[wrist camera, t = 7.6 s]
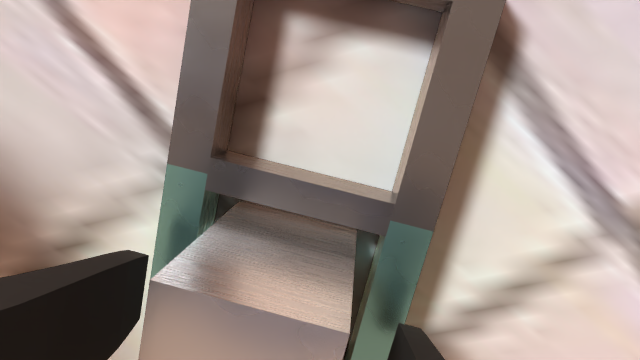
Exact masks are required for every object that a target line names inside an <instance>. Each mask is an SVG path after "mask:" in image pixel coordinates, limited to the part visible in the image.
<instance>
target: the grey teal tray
mask: <svg viewBox="0 0 640 360" xmlns="http://www.w3.org/2000/svg"><path fill="white" fill-rule="evenodd" d="M390 1H395V2H399V3H404V4H408V5H413V6H417V7H421V8H426V9H430V10H435V11H439V12H442V16H441V19H440V23H439V27H438V30H437V34H436V37H435V41H434V44H433V48H432V51H431V55H430V58H429V62H428V66H427V69H426V73H425V76H424V80H423V83H422V87H421V90H420V94H419V98H418V101H417V105H416V108H415V112H414V115H413V119H412V122H411V126H410V130H409V133H408V137H407V140H406V144H405V147H404V151H403V154H402V158H401V162H400V165H399V169H398V172H397V176H396V179H395V183H394V186H393V190H392V192H391V191H387V190H383V189H379V188H375V187H371V186H367V185H363V184H359V183H355V182H351V181H347V180H343V179H339V178H335V177H331V176H327V175H323V174H319V173H315V172H311V171H307V170H303V169H299V168H295V167H291V166H287V165H283V164H280V163H276V162H272V161H268V160H264V159H260V158H256V157H252V156H248V155H244V154H240V153H236V152H232V151H228V150H227V148H228V143H229V137H230V132H231V126H232V120H233V115H234V109H235V104H236V98H237V93H238V87H239V81H240V76H241V70H242V65H243V59H244V54H245V48H246V42H247V37H248V31H249V26H250V20H251V15H252V9H253V4H254V0H191V4H190V11H189V18H188V24H187V31H186V38H185V45H184V52H183V59H182V66H181V72H180V79H179V86H178V93H177V100H176V107H175V113H174V120H173V127H172V134H171V141H170V148H169V155H168V161H167V168H166V175H165V182H164V189H163V196H162V202H161V209H160V216H159V223H158V230H157V237H156V243H155V250H154V257H153V264H152V271H151V278H153V277H154V276H155V275H156V274H157V273H158V272H159V271H161V270H162V269H163V268H164V267H165V266H166V265H167V264H169V263H170V262H171V261H172V260H173V259H174V258H175V257H176V256H178V255H179V254H180V253H181V252H182V251H183V250H184V249H186V248H187V247H188V246H189V245H190V244H191V243H192V242H194V241H195V240H196V239H197V238H198V237H199V236H200V235H202V234H203V233H204V232H205V231H206V230H207V229H208V228H210V227H211V226H212V225H213V224H214V221H215V215H216V210H217V204H218V198H219V194H222V195H226V196H230V197H234V198H238V199H242V200H246V201H250V202H253V203H257V204H261V205H265V206H269V207H273V208H277V209H281V210H285V211H288V212H292V213H296V214H300V215H304V216H308V217H312V218H316V219H320V220H323V221H327V222H331V223H335V224H339V225H343V226H347V227H351V228H355V229H358V230H362V231H366V232H370V233H374V234H378V235H380V236H379V240H378V243H377V247H376V250H375V254H374V257H373V261H372V265H371V268H370V272H369V275H368V279H367V282H366V286H365V289H364V293H363V296H362V300H361V304H360V307H359V311H358V314H357V318H356V321H355V325H354V328H353V332H352V336H351V339H350V343H349V346H348V350H347V353H346V357H345V360H387V359H388V356H389V352H390V349H391V346H392V343H393V339H394V336H395V333H396V330H397V327H398V323H402V324H405V321H406V317H407V314H408V311H409V308H410V305H411V301H412V298H413V295H414V292H415V289H416V285H417V282H418V279H419V276H420V273H421V269H422V266H423V263H424V260H425V257H426V254H427V250H428V247H429V244H430V241H431V238H432V234H433V231H434V228H435V225H436V222H437V218H438V215H439V212H440V209H441V206H442V202H443V199H444V196H445V193H446V190H447V187H448V183H449V180H450V177H451V174H452V171H453V167H454V164H455V161H456V158H457V155H458V151H459V148H460V145H461V142H462V139H463V135H464V132H465V129H466V126H467V123H468V120H469V116H470V113H471V110H472V107H473V104H474V100H475V97H476V94H477V91H478V88H479V84H480V81H481V78H482V75H483V72H484V68H485V65H486V62H487V59H488V56H489V53H490V49H491V46H492V43H493V40H494V37H495V33H496V30H497V27H498V24H499V21H500V17H501V14H502V11H503V8H504V5H505V1H506V0H390ZM151 278H150V279H151Z"/></svg>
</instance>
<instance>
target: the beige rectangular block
mask: <svg viewBox="0 0 640 360" xmlns="http://www.w3.org/2000/svg"><path fill="white" fill-rule="evenodd" d="M356 238H357V230H355V229H351V228H347V227H344V226H340V225H336V224H332V223H328V222H324V221H320V220H316V219H312V218H309V217H305V216H301V215H297V214H293V213H289V212H285V211H281V210H277V209H273V208H270V207H266V206H262V205H258V204H254V203H250V202H246V201H242V200H240V201H239V202H238V203H237V204H236V205H235V206H234V207H232V208H231V209H230V210H229V211H228V212H227V213H226V214H224V215H223V216H222V217H221V218H220V219H219V220H218V221H216V222H215V223H214V224H213V225H212V226H211V227H210V228H208V229H207V230H206V231H205V232H204V233H203V234H202V235H200V236H199V237H198V238H197V239H196V240H195V241H194V242H192V243H191V244H190V245H189V246H188V247H187V248H186V249H184V250H183V251H182V252H181V253H180V254H179V255H178V256H176V257H175V258H174V259H173V260H172V261H171V262H170V263H169V264H167V265H166V266H165V267H164V268H163V269H162V270H161V271H159V272H158V273H157V274H156V275H155V276H154V277H153V278H151V279H150V283H149V290H148V297H147V304H146V311H145V318H144V325H143V332H142V339H141V345H140V352H139V359H138V360H343V356H344V353H345V349H346V346H347V342H348V339H349V335H350V324H351V309H352V295H353V281H354V266H355V252H356Z"/></svg>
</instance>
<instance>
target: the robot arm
mask: <svg viewBox="0 0 640 360" xmlns="http://www.w3.org/2000/svg"><path fill="white" fill-rule="evenodd" d="M148 257H149V255H145V254H141V253H138V252H134V251H130V250H125V251H118V252H113V253H108V254H104V255H100V256H96V257H92V258H88V259H84V260H80V261H75V262H71V263H67V264H63V265H59V266H55V267H50V268H46V269H41V270H36V271H32V272H27V273H22V274H18V275H13V276H8V277H2V278H0V360H108V358H109V357H110V356H111V355H112V354H113V353H114V352H115V351H116V350H117V349H118V348H119V346H120V345H121V344H122V342H123V341H124V340H125V338H126V337H127V336H128V335H129V333H130V332H131V330H132V329H133V327H134V326H135V325H136V323H137V322H138V320H139V319H140V313H141V306H142V299H143V292H144V285H145V278H146V271H147V264H148ZM387 360H445V359H444V358H443V357H442V355H441V354H440V353H439V351H438V350H437V349H436V347H435V346H434V345H433V343H432V342H431V341H430V339H429V338H428V337H427V335H426V334H425V333H424V332H423V331H422V329H420V328H417V327H413V326H409V325H406V324H402V323H398V327H397V330H396V333H395V336H394V339H393V343H392V346H391V349H390V352H389V356H388V359H387Z"/></svg>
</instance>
